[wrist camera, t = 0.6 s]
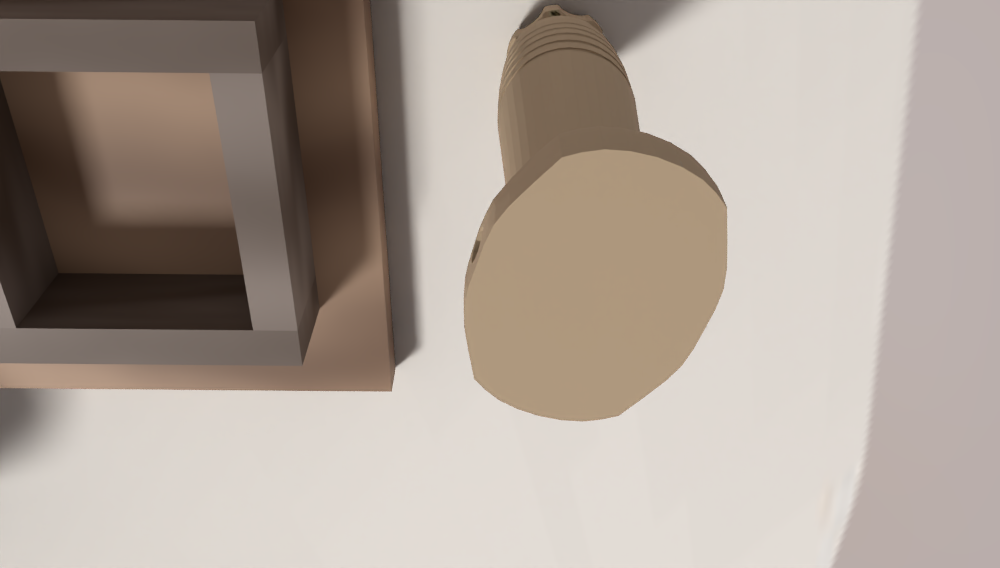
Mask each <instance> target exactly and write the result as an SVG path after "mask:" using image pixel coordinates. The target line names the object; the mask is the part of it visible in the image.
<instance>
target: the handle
mask: <svg viewBox="0 0 1000 568" xmlns="http://www.w3.org/2000/svg"><path fill="white" fill-rule="evenodd" d="M498 131H499V139H500V146H501V154H502V161H503V168H504V176H505V184H506V185H505V186H504V187H503V189H502V190H501V191H500V192H499V193H498V195H497V196H496V197H495V198H494V199H493V201H492V203H491V205H490V207H489V209H488V211H487V213H486V215H485V217H484V219H483V221H482V224H481V226H480V228H479V231H478V235H477V238H476V241H475V244H474V247H473V250H472V253H471V257H470V260H469V263H468V268H467V272H466V276H465V287H464V327H465V333H466V339H467V345H468V351H469V356H470V360H471V365H472V370H473V375H474V379H475V380H476V381H477V382H478V383H479V384H480V385H481V386H482V387H483V388H484V389H485V390H486V391H488V392H489V393H490V394H492V395H493V396H494V397H496V398H497V399H498V400H500V401H502V402H504V403H506V404H508V405H510V406H513V407H515V408H517V409H519V410H522V411H526V412H529V413H532V414H535V415H538V416H543V417H548V418H553V419H559V420H569V421H591V420H600V419H606V418H610V417H615V416H619V415H620V414H622V413H623V412H624V411H626V410H627V409H629V408H630V407H631V406H633V405H634V404H635V403H637V402H638V401H640V400H641V399H642V398H644V397H645V396H646V395H648V394H649V393H650V392H652V391H653V390H654V389H656V388H657V387H658V386H660V385H661V384H662V383H663V382H665V381H666V380H667V379H668V378H669V377H670V376H671V375H672V374H674V373H675V372H676V371H677V370H678V369H679V368H680V367H681V366H682V365H683V363H684V362H685V360H686V359H687V358H688V356H689V355H690V353H691V352H692V350H693V349H694V347H695V345H696V344H697V342H698V340H699V338H700V336H701V335H702V333H703V331H704V329H705V327H706V325H707V324H708V322H709V320H710V318H711V316H712V314H713V313H714V311H715V309H716V306H717V304H718V302H719V299H720V297H721V294H722V292H723V289H724V283H725V276H726V270H727V207H726V204H725V202H724V200H723V197H722V195H721V193H720V191H719V189H718V187H717V185H716V184H715V182H714V181H713V180H712V178H711V177H710V176H709V174H708V173H707V171H706V170H705V169H704V168H703V167H702V166H701V165H700V164H699V163H698V162H697V161H696V160H695V159H694V158H693V157H692V156H691V155H690V154H688V153H687V152H685V151H683V150H682V149H680V148H678V147H677V146H675V145H674V144H672V143H670V142H668V141H665V140H663V139H660V138H658V137H655V136H653V135H650V134H648V133H644V132H640V129H639V123H638V117H637V110H636V104H635V98H634V95H633V92H632V89H631V86H630V83H629V80H628V77H627V74H626V71H625V68H624V66H623V65H622V63H621V61H620V59H619V57H618V55H617V53H616V52H615V50H614V48H613V47H612V45H611V44H610V43H609V41H608V40H607V39H606V38H605V36H604V35H603V34H602V29H601V27H600V26H599V25H598V23H597V22H596V21H595V20H594V19H593V18H592V17H590V16H589V15H584V16H579V15H574V14H570V13H568V12H566V11H564V10H563V9H561V7H560V6H559V5H549V6H545V7H544V8H543V11H542V13H541V14H540V16H539V17H538V18H537V19H536V20H535V21H534V22H533V23H531V24H530V25H528V26H527V27H525V28H523V29H518V30H516V32H515V33H514V34H513V36H512V38H511V40H510V42H509V46H508V50H507V58H506V62H505V65H504V69H503V73H502V78H501V84H500V90H499V101H498Z"/></svg>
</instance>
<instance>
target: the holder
mask: <svg viewBox="0 0 1000 568" xmlns="http://www.w3.org/2000/svg"><path fill="white" fill-rule="evenodd" d="M394 374H395V356H394V341H393V327H392V312H391V298H390V283H389V269H388V254H387V239H386V225H385V210H384V196H383V181H382V167H381V152H380V138H379V123H378V109H377V94H376V80H375V65H374V51H373V36H372V22H371V7H370V0H0V388H59V389H172V390H285V391H392V386H393V380H394Z"/></svg>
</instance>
